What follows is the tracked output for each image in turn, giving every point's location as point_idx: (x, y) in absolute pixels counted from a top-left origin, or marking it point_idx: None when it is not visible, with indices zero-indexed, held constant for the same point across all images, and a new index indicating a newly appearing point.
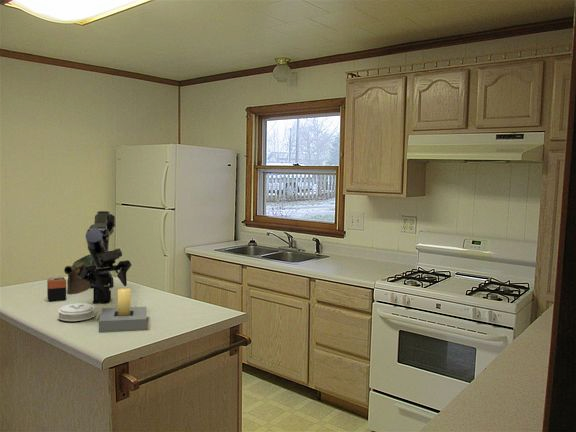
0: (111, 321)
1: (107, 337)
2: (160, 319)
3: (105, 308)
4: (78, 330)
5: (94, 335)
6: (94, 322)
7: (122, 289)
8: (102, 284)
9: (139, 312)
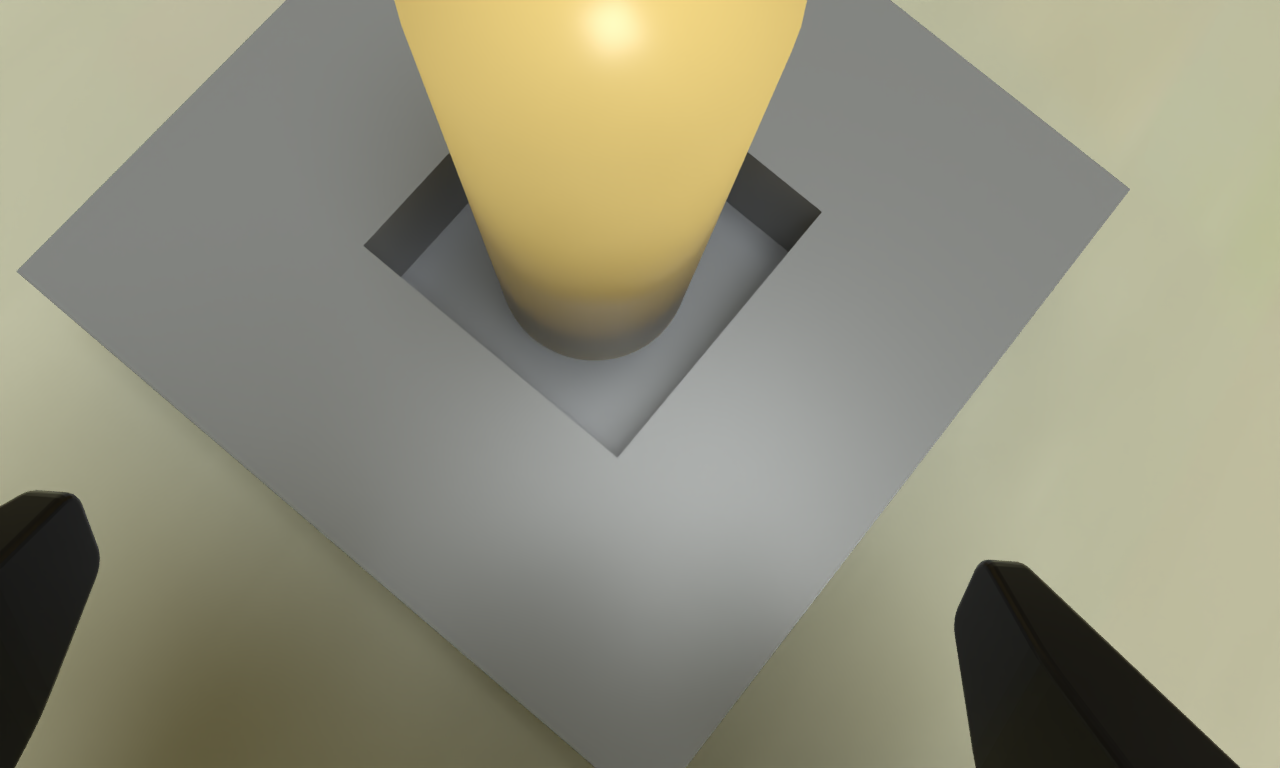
0: (966, 74)
1: (1063, 5)
2: (90, 53)
3: (624, 757)
4: (1186, 516)
5: (1137, 184)
6: (838, 673)
7: (637, 7)
8: (1100, 698)
9: (377, 76)
